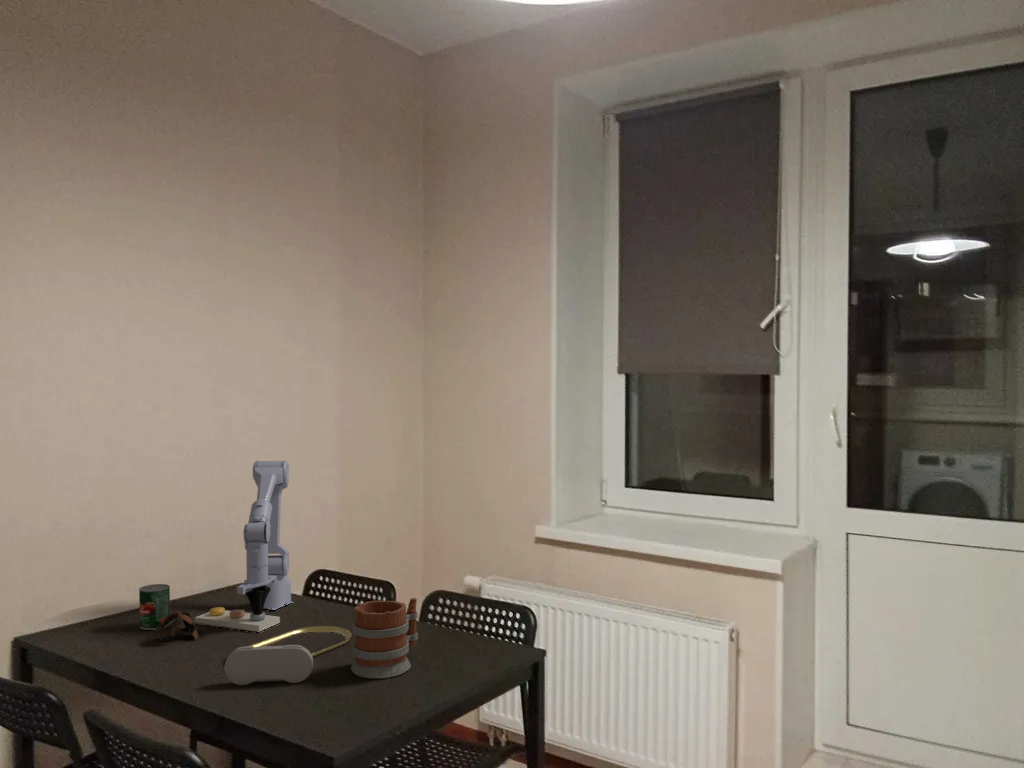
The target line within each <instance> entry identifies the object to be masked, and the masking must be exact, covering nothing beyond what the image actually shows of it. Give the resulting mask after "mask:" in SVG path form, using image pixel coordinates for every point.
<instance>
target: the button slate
mask: <svg viewBox="0 0 1024 768" xmlns="http://www.w3.org/2000/svg"><path fill="white" fill-rule="evenodd" d="M250 613H251V614H250V619H251V620H262V619H265V615H266V612H264V611H263V612H262V614H260V615H255V614H253V612H250Z"/></svg>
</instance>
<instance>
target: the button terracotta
mask: <svg viewBox="0 0 1024 768" xmlns="http://www.w3.org/2000/svg"><path fill="white" fill-rule="evenodd" d="M229 611H230V617H232V618H239V617H243V616H245V613H246V612H245V609H233V610H229Z"/></svg>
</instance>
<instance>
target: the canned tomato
mask: <svg viewBox="0 0 1024 768" xmlns="http://www.w3.org/2000/svg"><path fill="white" fill-rule="evenodd" d="M170 588H171V585H169V584H165V583H156V584H155V583H154V584H153V583H152V584H147V585H143V586H141V587H139V589H138V591H139V595H138V596H139V597H138V598H139V599H138V600H139V603H138V604H139V628H140V627H143V628H156V627H157V626H159V627H160V625H159V623H160V622H161V621H162V620H163V619H164V618H166V617H167V616H169V615H170V614H171V606H170V605H171V601H170V600H171V598H170V597H171V596H170V595H171V594H170V593H171V591H170ZM169 623H171V621H170V622H169ZM169 623H168V624H169ZM168 624H166V625H168ZM166 625H165V626H166Z"/></svg>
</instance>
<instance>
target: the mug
mask: <svg viewBox="0 0 1024 768" xmlns="http://www.w3.org/2000/svg"><path fill="white" fill-rule="evenodd" d="M417 602H418V601H417V598H415V597H411V598H410V599H409V603H408V607H407V605H406V603H404V602H400V601H397V600H396V601H395V600H371V601H367V602H363V603H357V605H356V606H355V608H354V621H352V633H353V634H354V642H353V644H352V654H353V655H352V656H354V657H355V658H354V661H353V663H352V665H351V667H350V671H351V672H352V673H353V674H354V676H356V677H360V678H362V679H363V678H364V679H367V680H368V679H369V680H370V679H371V680H385V679H390V678H391V677H392V678H394V677H398V676H401V674H402V675H404V674H405V673H407V672H408V671H409V670H410V668H411V666H412V665H411V662H410V660H409V659H408V657H407V654H408V653H409V651H410V649H414V648H415V647H416V644H417V641H418V639H419V638H418V637H419V636H418V634H419V633H418V632H417V619H418V617H419V616H418V615H419V613H418V612H417ZM406 671H407V672H406ZM403 673H404V674H403Z"/></svg>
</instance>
